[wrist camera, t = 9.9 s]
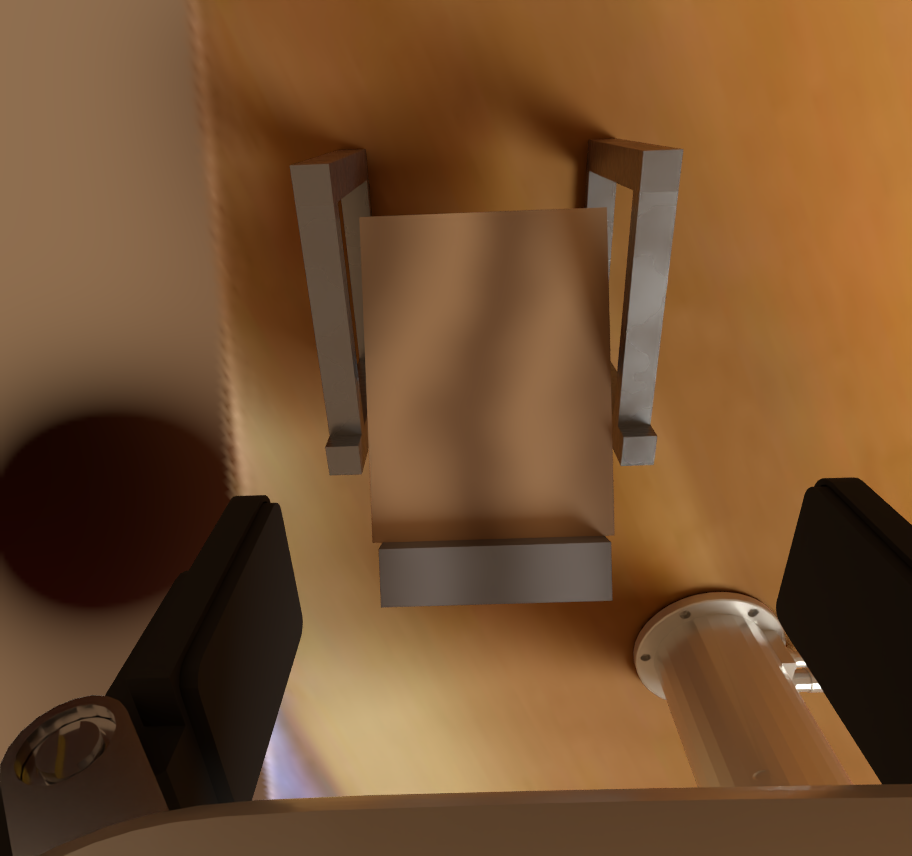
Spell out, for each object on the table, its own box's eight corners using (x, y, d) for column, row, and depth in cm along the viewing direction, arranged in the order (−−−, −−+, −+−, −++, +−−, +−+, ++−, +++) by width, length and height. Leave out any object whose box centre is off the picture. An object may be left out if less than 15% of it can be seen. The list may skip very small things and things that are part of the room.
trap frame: (616, 138, 35) (693, 150, 24) (599, 368, 42) (653, 464, 30) (337, 150, 35) (282, 167, 24) (363, 376, 42) (329, 475, 30)
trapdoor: (597, 220, 32) (613, 197, 28) (605, 578, 33) (622, 600, 29) (366, 229, 32) (354, 208, 28) (380, 584, 33) (370, 607, 29)
